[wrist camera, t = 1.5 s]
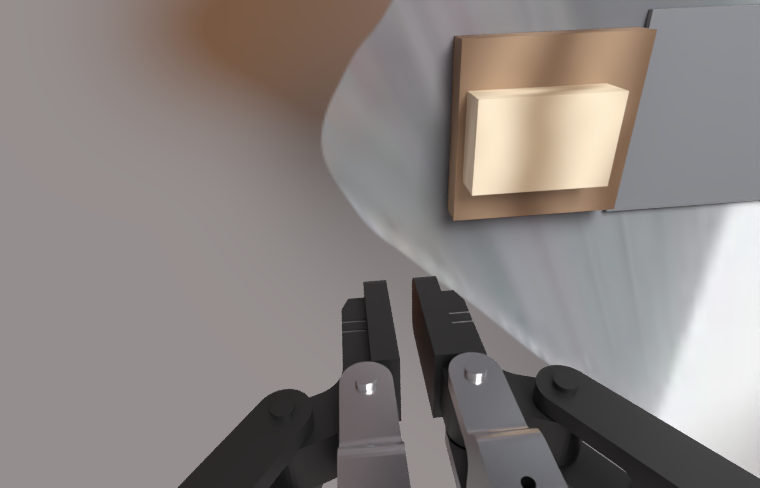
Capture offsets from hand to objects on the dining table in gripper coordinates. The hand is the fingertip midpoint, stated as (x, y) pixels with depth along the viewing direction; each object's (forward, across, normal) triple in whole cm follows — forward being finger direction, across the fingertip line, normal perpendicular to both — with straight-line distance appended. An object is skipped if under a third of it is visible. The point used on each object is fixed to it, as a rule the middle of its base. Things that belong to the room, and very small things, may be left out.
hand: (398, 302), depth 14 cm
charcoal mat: (+19, -26, 0) cm, 32 cm away
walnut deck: (+19, -12, 0) cm, 22 cm away
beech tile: (+17, -11, 0) cm, 20 cm away
